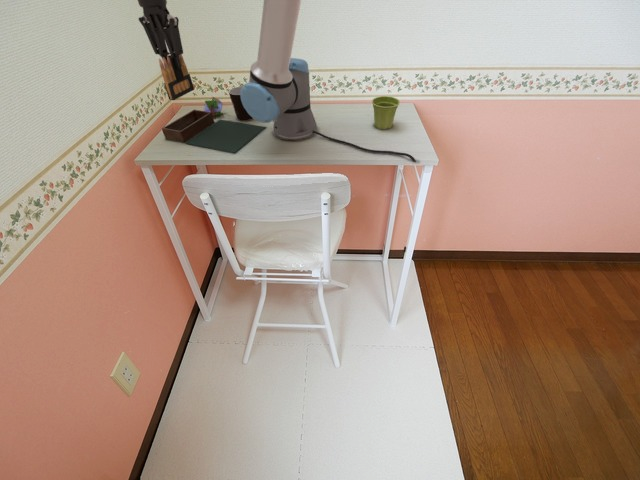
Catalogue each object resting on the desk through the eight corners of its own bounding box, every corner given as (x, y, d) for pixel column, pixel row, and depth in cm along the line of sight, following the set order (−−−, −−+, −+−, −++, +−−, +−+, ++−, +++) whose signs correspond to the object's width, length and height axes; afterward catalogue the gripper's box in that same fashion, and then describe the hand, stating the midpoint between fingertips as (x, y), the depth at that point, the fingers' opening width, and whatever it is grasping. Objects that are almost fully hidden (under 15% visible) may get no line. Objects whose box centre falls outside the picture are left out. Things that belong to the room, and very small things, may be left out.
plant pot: (399, 122, 119) (403, 98, 113) (392, 133, 113) (395, 108, 107) (374, 118, 122) (376, 94, 116) (366, 129, 116) (368, 104, 110)
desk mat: (265, 127, 120) (265, 126, 119) (234, 153, 106) (234, 152, 106) (220, 120, 126) (220, 119, 125) (185, 144, 112) (185, 142, 112)
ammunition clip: (173, 100, 107) (159, 59, 99) (169, 99, 108) (154, 59, 99) (194, 89, 114) (183, 50, 106) (190, 88, 115) (178, 50, 106)
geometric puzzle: (219, 115, 124) (218, 93, 123) (201, 116, 124) (200, 94, 123) (225, 120, 131) (224, 99, 130) (208, 120, 131) (207, 100, 130)
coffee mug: (253, 122, 123) (248, 95, 116) (231, 121, 124) (225, 94, 118) (261, 110, 132) (257, 83, 125) (241, 109, 133) (236, 83, 126)
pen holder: (214, 122, 124) (211, 112, 122) (184, 143, 113) (180, 131, 110) (197, 119, 127) (193, 109, 124) (165, 139, 116) (161, 128, 113)
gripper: (178, -14, 92) (203, 77, 108) (138, -14, 96) (167, 73, 112) (159, -10, 87) (188, 84, 103) (118, -10, 91) (151, 80, 107)
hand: (177, 78), depth 107 cm, fingers closed on ammunition clip, 2 cm apart
